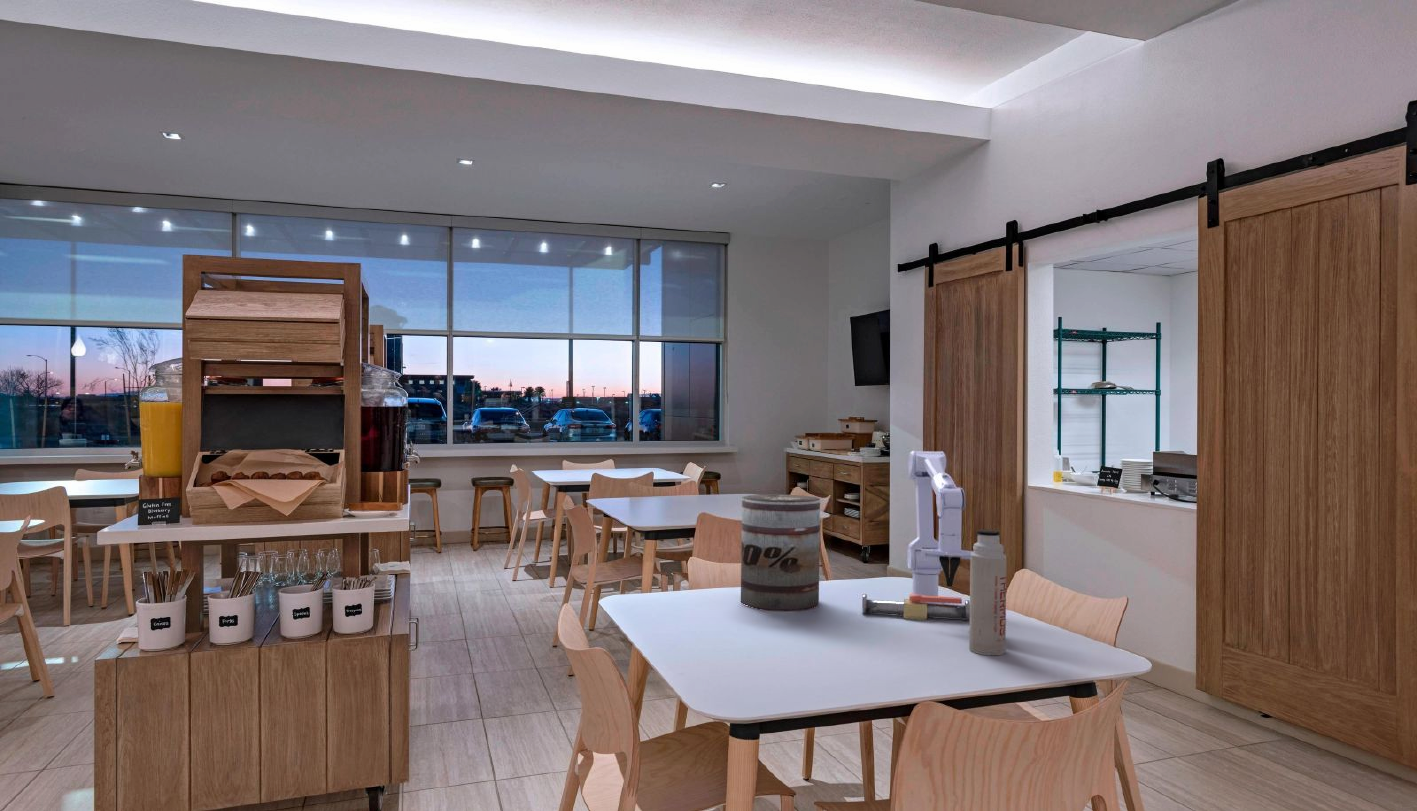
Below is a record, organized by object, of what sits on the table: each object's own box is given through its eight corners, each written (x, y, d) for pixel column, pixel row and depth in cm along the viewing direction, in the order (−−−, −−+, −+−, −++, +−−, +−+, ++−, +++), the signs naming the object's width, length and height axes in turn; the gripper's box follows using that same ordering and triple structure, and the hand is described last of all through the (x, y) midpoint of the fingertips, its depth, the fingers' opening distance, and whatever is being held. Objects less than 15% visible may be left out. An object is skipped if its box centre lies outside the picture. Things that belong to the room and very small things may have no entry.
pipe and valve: (863, 610, 239) (863, 591, 239) (968, 617, 233) (968, 598, 233) (862, 615, 233) (862, 596, 233) (969, 622, 227) (970, 602, 227)
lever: (909, 601, 232) (909, 595, 232) (909, 598, 235) (909, 593, 235) (961, 604, 229) (961, 598, 229) (961, 601, 232) (961, 596, 232)
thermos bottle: (1012, 653, 198) (1014, 531, 198) (987, 657, 195) (988, 533, 195) (987, 644, 205) (988, 527, 206) (961, 648, 202) (963, 529, 202)
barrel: (724, 599, 250) (726, 496, 251) (782, 590, 264) (783, 493, 264) (776, 615, 232) (777, 504, 233) (835, 604, 246) (836, 499, 246)
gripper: (921, 534, 224) (921, 587, 224) (980, 537, 220) (979, 590, 220) (921, 531, 231) (920, 581, 231) (977, 533, 227) (977, 585, 227)
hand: (949, 585), depth 226 cm, fingers closed
